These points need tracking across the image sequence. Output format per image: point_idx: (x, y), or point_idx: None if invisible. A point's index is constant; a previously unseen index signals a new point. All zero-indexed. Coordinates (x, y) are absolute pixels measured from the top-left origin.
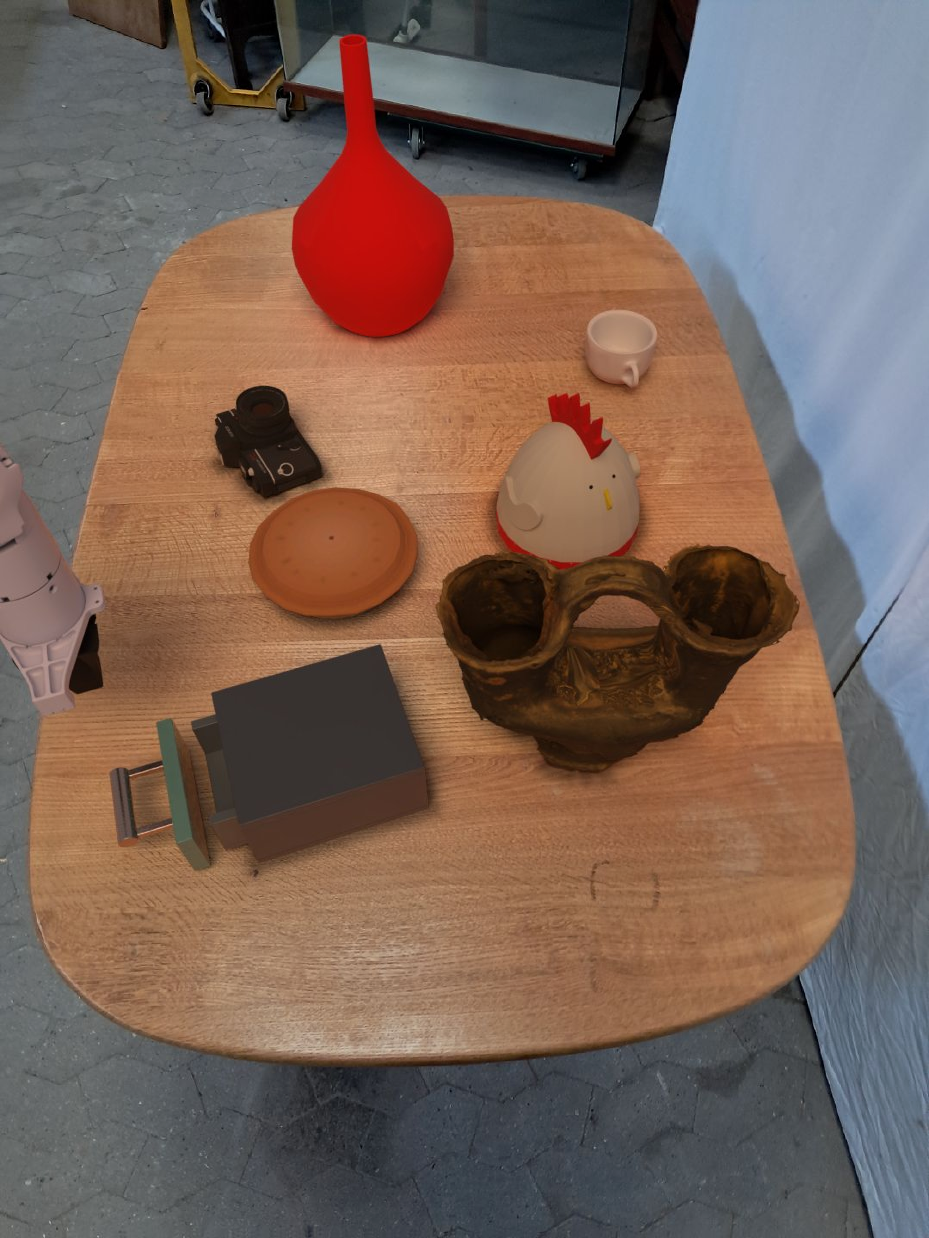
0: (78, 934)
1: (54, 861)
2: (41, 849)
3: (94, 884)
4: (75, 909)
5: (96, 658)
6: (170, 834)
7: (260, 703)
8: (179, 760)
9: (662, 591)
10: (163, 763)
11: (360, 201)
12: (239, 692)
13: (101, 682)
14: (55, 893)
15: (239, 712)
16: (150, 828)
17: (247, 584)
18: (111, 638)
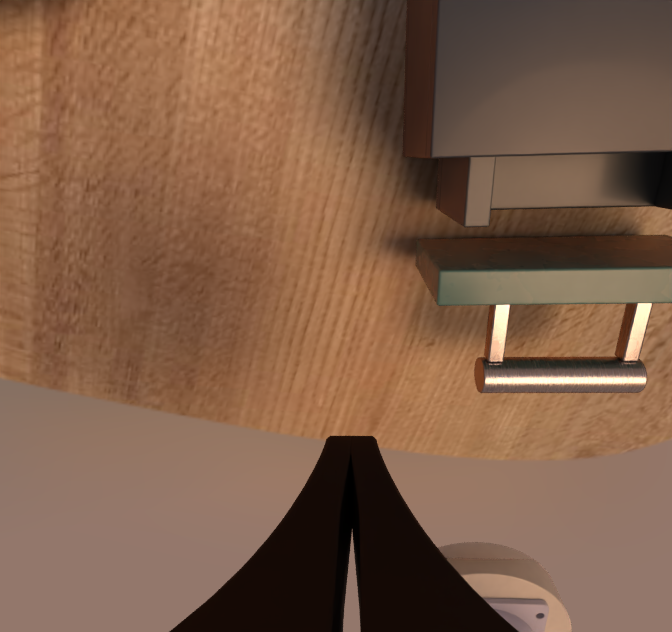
0: (633, 424)
1: (508, 443)
2: (482, 456)
3: (571, 400)
4: (595, 424)
5: (388, 521)
6: None
7: (535, 1)
8: (560, 267)
9: None
10: (555, 303)
11: None
12: (465, 68)
13: (377, 448)
14: (557, 445)
15: (537, 80)
16: (638, 337)
17: (15, 51)
18: (128, 338)
